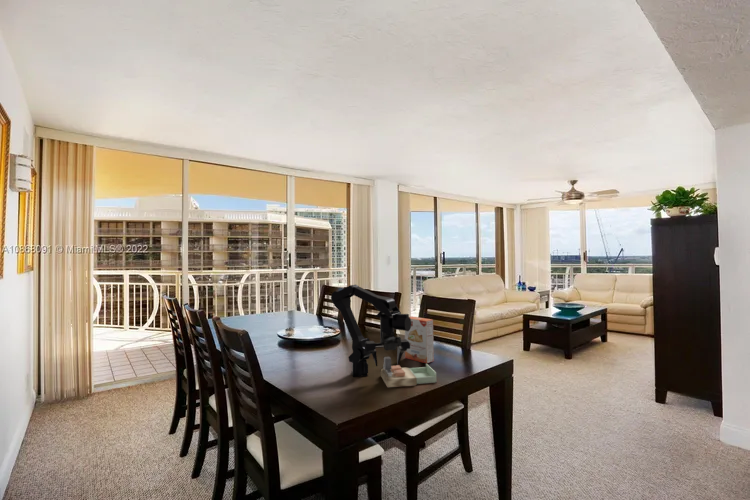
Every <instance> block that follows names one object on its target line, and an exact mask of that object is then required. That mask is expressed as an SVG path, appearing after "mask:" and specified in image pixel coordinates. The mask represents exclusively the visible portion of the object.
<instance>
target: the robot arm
mask: <svg viewBox="0 0 750 500" xmlns="http://www.w3.org/2000/svg"><path fill="white" fill-rule="evenodd" d="M353 296H355V297H356V298H359V299H360V300H363V301H365V302H367V303H369V304H370V305H372V306H373V307H374V308H375V310H377V311H378V313H377V314H376V315H375V318H379V322H380V323H379V327H380V330H379V333H380V334H379V335H380V339H379V341H380V342H375V341H374V340H370V338H369V337H367V338H365V337H364V336H363V334H362V332H361V328H360V327H359V325H358V321H357V319H356V317H355V314H354V312H353V311H352V308H351V302H352V301H351V298H352V297H353ZM330 300H331V303H332V304H333V305H334V307H335V308H336V309H338V311H339V312H340V315H341V317H342V319H343V321H344V324H345V326H346V328H347V331H348V333H349V336H350V338H351V341H352V342H351V343H352V344H351V349H352V353H351V354H350V355H349V356H348V361H349V363H351V376H352V377H353V378H357V377H368V375H369V374H368V373H369V362H368V360H369V359H370V357H371V355H372V358H373V361H374V365H375V367H378V358H377V357H378V356H377V350H376V349H379V348H384V350H385V351H391V350H392V351H397V352H396V353H397V354H396V363H397V364H396V365H400V362H401V359H402V356H403V354H405V351H407V349H410V343H409V342H408V341H407V340H406V339H405V338H404V339H402V337H400V336H395V330H397V331H398V330H399V331H404V332H405V331H409V330H410V328H411V319H410V317H411V316H410V314H409V313H402V312H401V311H400V309H399V307H398V306H397V304H396V301H395V299H394V298H392V297H389V296H383V295H377V294H375V293H374V292H371V291H369V290H368V289H365V288H363V287H361V286H359V285H358V284H351V285H348V286H347V287H345V288H343V289H340V290H335V291H333V292H332V293H331V296H330Z"/></svg>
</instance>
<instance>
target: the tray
mask: <svg viewBox="0 0 750 500" xmlns="http://www.w3.org/2000/svg"><path fill="white" fill-rule="evenodd" d="M408 368H409V370H410V371H411V372H412V373H413V374H414V376H415V377H416V385H419V384H432V383H433V384H435V383H437V380H438V379H437V378H438V377H437V371H436V370H434V369H433V368H432V367H431V366H430V365H429V363H427V364H426V363H425V366H422V367H419V366H418V367H408Z"/></svg>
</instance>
